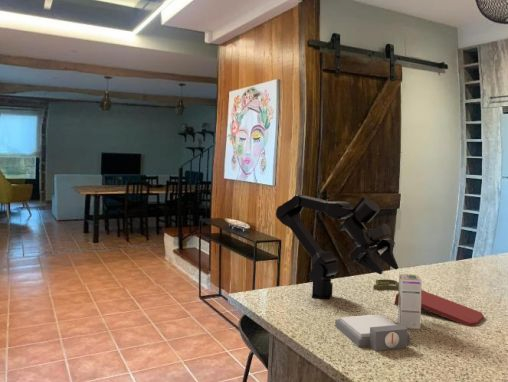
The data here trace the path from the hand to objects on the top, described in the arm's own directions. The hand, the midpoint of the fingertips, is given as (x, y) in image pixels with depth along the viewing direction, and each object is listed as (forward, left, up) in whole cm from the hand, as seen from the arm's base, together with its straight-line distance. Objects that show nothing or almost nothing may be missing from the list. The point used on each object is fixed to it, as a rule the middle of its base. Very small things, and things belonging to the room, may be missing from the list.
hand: (389, 271), depth 131 cm
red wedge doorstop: (+16, +10, -15) cm, 24 cm away
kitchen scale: (-5, -17, -14) cm, 23 cm away
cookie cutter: (+5, +32, -15) cm, 35 cm away
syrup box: (+5, -5, -15) cm, 17 cm away
